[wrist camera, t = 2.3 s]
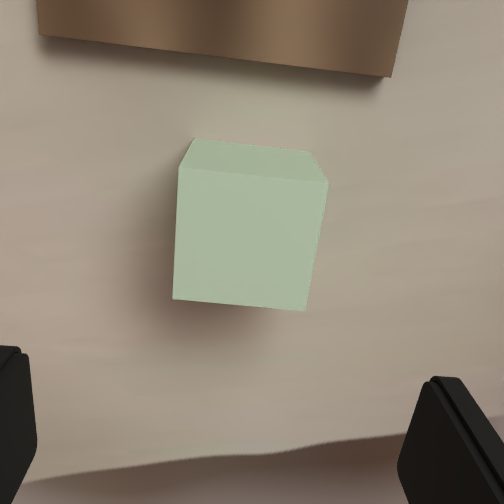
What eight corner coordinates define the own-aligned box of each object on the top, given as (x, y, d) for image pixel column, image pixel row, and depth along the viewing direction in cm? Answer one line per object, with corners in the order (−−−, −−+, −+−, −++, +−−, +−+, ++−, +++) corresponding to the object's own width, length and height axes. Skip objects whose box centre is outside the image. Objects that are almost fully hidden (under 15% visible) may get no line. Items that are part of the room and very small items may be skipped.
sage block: (310, 150, 24) (329, 183, 18) (292, 255, 26) (305, 311, 21) (194, 138, 23) (178, 167, 18) (187, 244, 26) (172, 299, 20)
